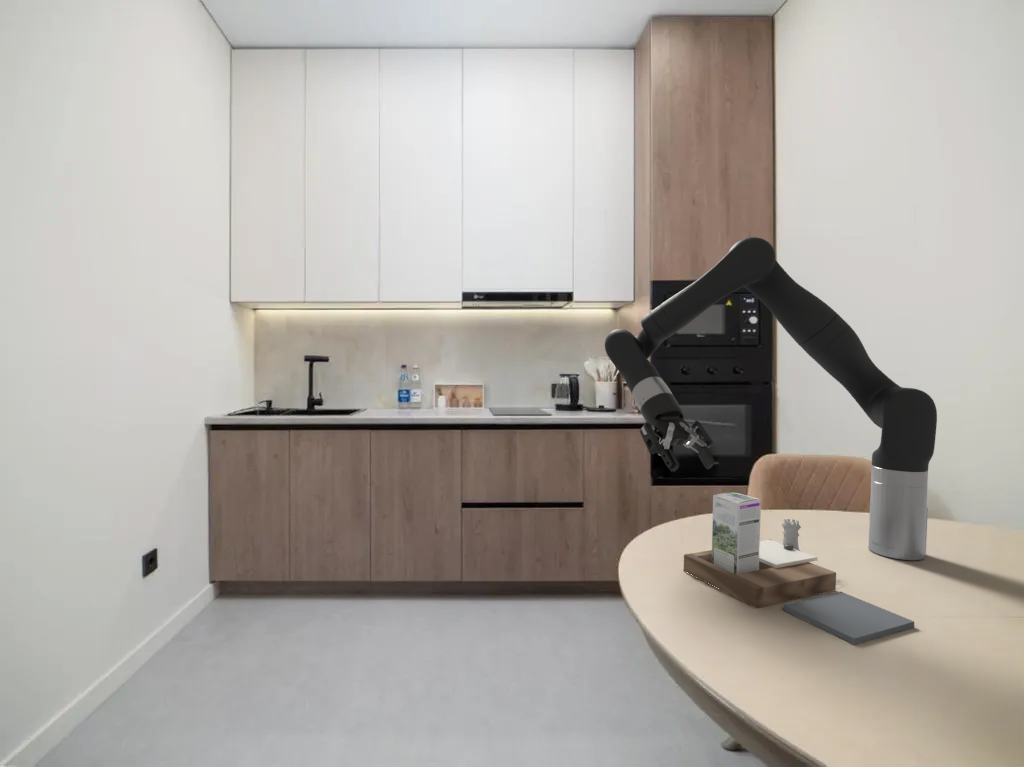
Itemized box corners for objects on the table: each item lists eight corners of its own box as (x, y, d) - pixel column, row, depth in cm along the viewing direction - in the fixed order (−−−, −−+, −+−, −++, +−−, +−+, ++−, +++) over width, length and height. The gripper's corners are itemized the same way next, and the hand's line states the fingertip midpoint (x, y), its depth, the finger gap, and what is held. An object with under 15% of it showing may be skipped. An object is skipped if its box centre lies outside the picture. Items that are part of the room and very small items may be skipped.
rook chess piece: (806, 568, 101) (808, 525, 100) (780, 565, 101) (781, 523, 101) (798, 559, 105) (800, 518, 105) (773, 557, 106) (775, 516, 105)
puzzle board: (757, 558, 105) (757, 542, 105) (835, 590, 91) (836, 572, 90) (683, 571, 98) (684, 554, 98) (755, 608, 83) (756, 588, 83)
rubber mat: (840, 596, 88) (841, 591, 88) (914, 627, 78) (914, 621, 78) (783, 609, 83) (783, 604, 83) (853, 644, 73) (854, 638, 73)
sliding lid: (769, 542, 105) (769, 536, 105) (817, 560, 96) (817, 553, 96) (730, 549, 101) (730, 542, 101) (776, 568, 92) (776, 561, 92)
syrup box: (760, 581, 94) (763, 498, 93) (735, 587, 91) (738, 501, 90) (733, 570, 99) (736, 490, 98) (709, 575, 96) (711, 493, 96)
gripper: (636, 391, 109) (673, 458, 99) (692, 391, 115) (732, 454, 104) (620, 415, 114) (654, 481, 104) (674, 414, 120) (711, 476, 110)
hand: (693, 467), depth 104 cm, fingers open, 8 cm apart
